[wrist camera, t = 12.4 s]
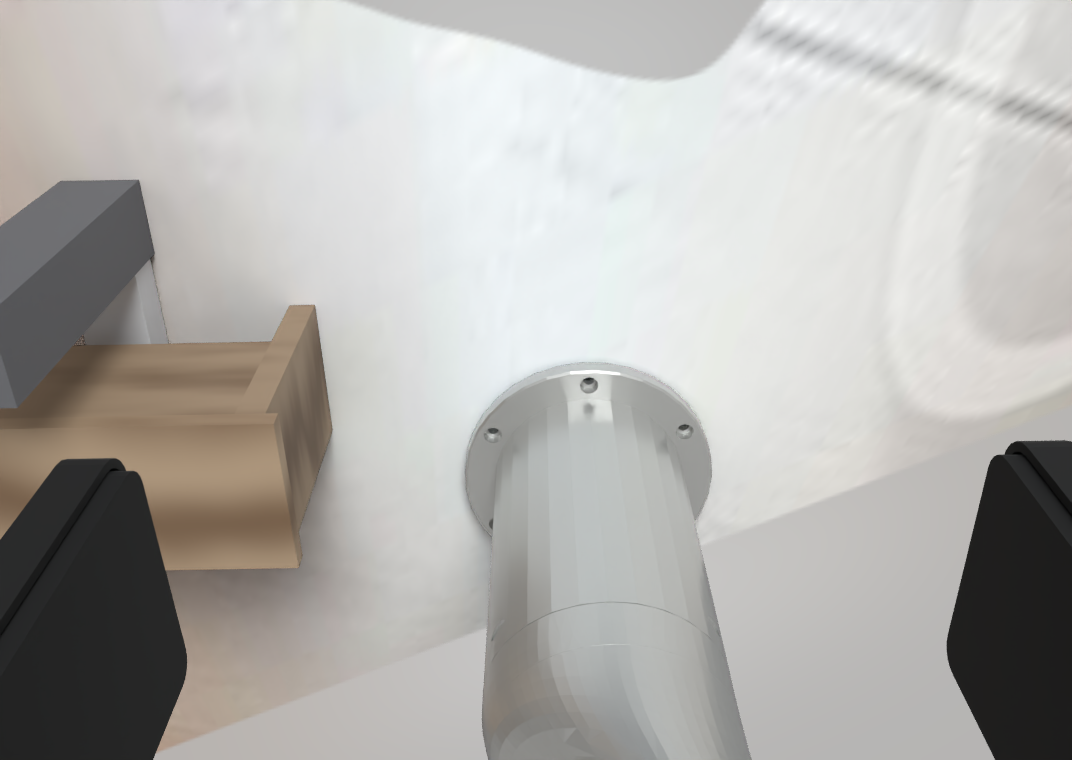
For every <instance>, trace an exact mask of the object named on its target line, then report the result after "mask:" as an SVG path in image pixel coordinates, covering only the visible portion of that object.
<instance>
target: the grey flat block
mask: <svg viewBox="0 0 1072 760" xmlns="http://www.w3.org/2000/svg"><path fill="white" fill-rule="evenodd" d="M154 254H155V253H154V249H153V244H152V239H151V235H150V230H149V225H148V221H147V216H146V211H145V207H144V202H143V197H142V192H141V188H140V183H139V180H105V181H60V182H59V183H57V184H56V185H55V186H53V187H52V188H51V189H49V190H48V191H47V192H45V193H44V194H43V195H41V196H40V197H39V198H37V199H36V200H35V201H33V202H32V203H31V204H29V205H28V206H27V207H25V208H24V209H23V210H21V211H20V212H19V213H17V214H16V215H15V216H13V217H12V218H11V219H9V220H8V221H7V222H5V223H4V224H3V225H1V226H0V408H18V407H19V406H20V405H21V403H22V402H23V401H24V400H25V399H26V398H27V397H28V396H29V394H30V393H31V392H32V391H33V390H34V389H35V388H36V387H37V385H38V384H39V383H40V382H41V381H42V380H43V379H44V378H45V376H46V375H47V374H48V373H49V372H50V371H51V370H52V369H53V367H54V366H55V365H56V364H57V363H58V362H59V361H60V360H61V358H62V357H63V356H64V355H65V354H66V353H67V352H68V351H69V349H70V348H71V347H72V346H73V345H74V344H75V343H76V342H77V340H78V339H79V338H80V337H81V336H82V335H84V339H85V343H86V345H128V344H169V343H168V338H167V334H166V329H165V324H164V320H163V315H162V311H161V306H160V301H159V297H158V292H157V287H156V283H155V278H154V274H153V269H152V264H151V260H150V258H151V257H152V256H153V255H154Z"/></svg>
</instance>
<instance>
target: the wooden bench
mask: <svg viewBox="0 0 1072 760" xmlns="http://www.w3.org/2000/svg"><path fill="white" fill-rule="evenodd" d="M331 433H332V423H331V416H330V409H329V402H328V395H327V388H326V381H325V373H324V366H323V359H322V352H321V345H320V338H319V331H318V324H317V317H316V310H315V305H293V306H289V308H288V310H287V312H286V314H285V316H284V318H283V320H282V322H281V324H280V326H279V328H278V329H277V331H276V333H275V335H274V337H273V339H272V341H271V342H231V343H179V344H128V345H76V346H72V347H71V348H70V349H69V351H68V352H67V353H66V354H65V355H64V356H63V357H62V358H61V360H60V361H59V362H58V363H57V364H56V365H55V366H54V367H53V369H52V370H51V371H50V372H49V373H48V374H47V375H46V376H45V378H44V379H43V380H42V381H41V382H40V383H39V384H38V385H37V387H36V388H35V389H34V390H33V391H32V392H31V393H30V394H29V396H28V397H27V398H26V399H25V400H24V401H23V402H22V403H21V405H20V406H19V407H18V408H0V539H1V538H2V537H3V535H4V534H5V533H6V531H7V530H8V529H9V527H10V526H11V525H12V523H13V522H14V521H15V519H16V518H17V517H18V515H19V514H20V513H21V511H22V510H23V509H24V507H25V506H26V505H27V503H28V502H29V501H30V499H31V498H32V497H33V495H34V494H35V493H36V491H37V490H38V488H39V487H40V486H41V484H42V483H43V482H44V480H45V479H46V478H47V476H48V475H49V474H50V472H51V471H52V470H53V468H54V467H55V466H56V465H57V464H58V463H59V462H60V461H61V460H65V459H91V458H116V459H118V460H120V461H121V462H122V464H123V465H124V466H125V469H126V471H135V472H138V474H139V475H140V477H141V479H142V482H143V485H144V489H145V493H146V497H147V501H148V505H149V509H150V512H151V516H152V520H153V524H154V528H155V532H156V536H157V540H158V543H159V547H160V551H161V555H162V559H163V563H164V567H165V570H211V569H268V568H299V565H300V562H301V559H302V556H303V555H302V550H301V544H300V538H299V529H300V526H301V523H302V520H303V517H304V514H305V511H306V508H307V505H308V502H309V499H310V496H311V493H312V490H313V487H314V484H315V481H316V478H317V475H318V472H319V469H320V466H321V463H322V460H323V457H324V454H325V451H326V448H327V445H328V442H329V439H330V436H331Z"/></svg>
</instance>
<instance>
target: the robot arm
mask: <svg viewBox="0 0 1072 760" xmlns="http://www.w3.org/2000/svg"><path fill="white" fill-rule="evenodd" d="M589 377H590V378H592V379H591V380H585V378H589ZM684 424H686V425H684ZM680 425H684V426H680ZM491 428H496V429H494V430H493V429H491ZM465 476H466V490H467V494H468V497H469V500H470V504H471V507H472V509H473V511H474V513H475V515H476V517H477V518H478V520H479V522H480V524H481V525H482V527H483V528H484V529H485V530H486V531H487V532H488V534H489V535H490V536H491V537H492V551H491V568H490V586H489V603H488V621H487V638H486V658H485V673H484V688H483V704H482V728H483V736H484V742H485V747H486V752H487V756H488V760H752V759H751V756H750V753H749V749H748V745H747V741H746V738H745V734H744V730H743V726H742V723H741V718H740V715H739V710H738V706H737V702H736V698H735V694H734V690H733V685H732V681H731V677H730V671H729V667H728V663H727V659H726V654H725V650H724V646H723V641H722V637H721V633H720V629H719V624H718V620H717V616H716V611H715V607H714V603H713V598H712V594H711V590H710V586H709V581H708V577H707V573H706V568H705V564H704V560H703V555H702V551H701V547H700V543H699V538H698V534H697V530H696V525H695V520H696V519H697V517H698V516H699V514H700V513H701V510H702V508H703V506H704V503H705V501H706V499H707V496H708V493H709V488H710V483H711V477H712V468H711V454H710V450H709V446H708V442H707V438H706V436H705V433H704V431H703V428H702V426H701V423H700V421H699V419H698V417H697V416H696V415H695V413H694V412H693V410H692V409H691V407H690V406H689V405H688V403H687V402H686V401H685V400H684V399H683V398H682V397H681V396H680V395H678V394H677V393H676V392H675V391H674V390H673V389H672V388H671V387H669V386H667V385H666V384H664V383H663V382H661V381H659V380H658V379H656V378H655V377H653V376H651V375H648V374H646V373H643V372H640V371H638V370H635V369H633V368H630V367H625V366H620V365H614V364H609V363H585V362H582V363H575V364H568V365H561V366H556V367H553V368H550V369H547V370H544V371H541V372H538V373H535V374H533V375H531V376H529V377H527V378H525V379H523V380H522V381H520V382H518V383H516V384H514V385H513V386H512V387H510V388H509V389H508V390H507V391H505V392H504V393H503V394H502V395H500V396H499V397H498V398H497V399H496V400H495V401H494V402H493V403H492V404H491V406H490V407H489V408H488V409H487V410H486V411H485V413H484V414H483V415H482V417H481V419H480V420H479V422H478V424H477V426H476V428H475V430H474V432H473V433H472V437H471V441H470V444H469V448H468V451H467V460H466V468H465ZM947 656H948V661H949V665H950V668H951V671H952V673H953V676H954V678H955V679H956V682H957V684H958V686H959V688H960V690H961V692H962V694H963V696H964V697H965V700H966V701H967V704H968V706H969V708H970V709H971V712H972V714H973V716H974V718H975V720H976V722H977V724H978V726H979V728H980V730H981V732H982V734H983V736H984V738H985V740H986V742H987V744H988V746H989V748H990V750H991V752H992V754H993V756H994V758H995V760H1072V442H1071V441H1065V440H1063V441H1016V442H1014V443H1012V444H1010V446H1009V447H1008V448H1007V450H1006V452H1005V455H996V456H994V458H993V459H992V460H991V462H990V464H989V467H988V471H987V476H986V479H985V483H984V488H983V492H982V496H981V500H980V504H979V508H978V513H977V517H976V521H975V525H974V529H973V533H972V537H971V541H970V546H969V550H968V554H967V558H966V562H965V567H964V570H963V575H962V579H961V583H960V587H959V591H958V596H957V599H956V604H955V608H954V612H953V616H952V620H951V625H950V628H949V633H948V638H947ZM186 670H187V654H186V648H185V644H184V640H183V636H182V633H181V629H180V625H179V621H178V617H177V613H176V609H175V605H174V602H173V598H172V594H171V590H170V586H169V582H168V578H167V574H166V571H165V567H164V563H163V559H162V555H161V551H160V547H159V543H158V540H157V536H156V532H155V528H154V524H153V520H152V516H151V512H150V509H149V505H148V501H147V497H146V493H145V489H144V485H143V482H142V479H141V477H140V475H139V474H138V472H135V471H126V469H125V466H124V465H123V464H122V462H121V461H120V460H118V459H116V458H91V459H65V460H61V461H60V462H59V463H58V464H57V465H56V466H55V467H54V468H53V470H52V471H51V472H50V474H49V475H48V476H47V478H46V479H45V480H44V482H43V483H42V484H41V486H40V487H39V488H38V490H37V491H36V493H35V494H34V495H33V497H32V498H31V499H30V501H29V502H28V503H27V505H26V506H25V507H24V509H23V510H22V511H21V513H20V514H19V515H18V517H17V518H16V519H15V521H14V522H13V523H12V525H11V526H10V527H9V529H8V530H7V531H6V533H5V534H4V535H3V537H2V538H1V539H0V760H153V758H154V756H155V753H156V751H157V748H158V746H159V743H160V741H161V738H162V736H163V733H164V731H165V729H166V726H167V724H168V721H169V719H170V716H171V714H172V711H173V709H174V706H175V704H176V702H177V699H178V697H179V694H180V692H181V689H182V687H183V684H184V681H185V676H186Z"/></svg>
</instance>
